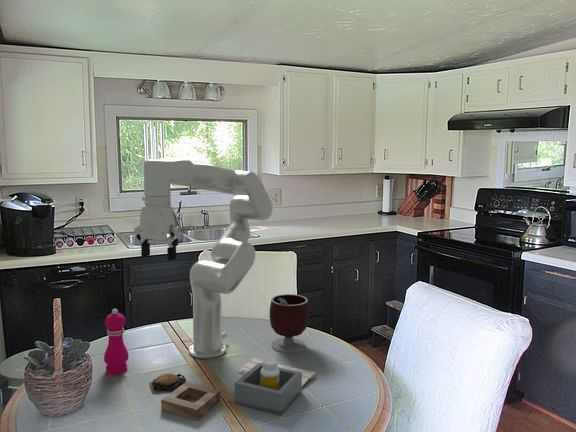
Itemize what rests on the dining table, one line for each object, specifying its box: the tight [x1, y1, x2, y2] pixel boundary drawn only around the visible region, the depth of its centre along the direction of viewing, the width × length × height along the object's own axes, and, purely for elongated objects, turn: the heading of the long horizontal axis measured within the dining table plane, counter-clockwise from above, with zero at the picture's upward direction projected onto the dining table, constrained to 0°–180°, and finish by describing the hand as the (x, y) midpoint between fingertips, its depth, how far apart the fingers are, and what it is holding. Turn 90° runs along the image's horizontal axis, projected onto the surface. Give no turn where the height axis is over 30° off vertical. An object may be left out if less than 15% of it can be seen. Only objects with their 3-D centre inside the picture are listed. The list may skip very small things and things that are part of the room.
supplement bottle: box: [260, 358, 279, 390], centre depth 138 cm, size 5×5×10 cm
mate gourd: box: [269, 293, 310, 354], centre depth 173 cm, size 16×14×20 cm
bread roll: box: [148, 372, 187, 395], centre depth 145 cm, size 11×8×4 cm
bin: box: [234, 363, 303, 416], centre depth 139 cm, size 14×14×6 cm
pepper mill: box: [103, 308, 129, 376], centre depth 152 cm, size 7×7×20 cm
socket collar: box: [160, 381, 222, 422], centre depth 134 cm, size 11×11×3 cm
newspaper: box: [237, 357, 317, 387], centre depth 154 cm, size 23×12×2 cm, turn 61°
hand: (158, 258), depth 148 cm, fingers open, 9 cm apart
